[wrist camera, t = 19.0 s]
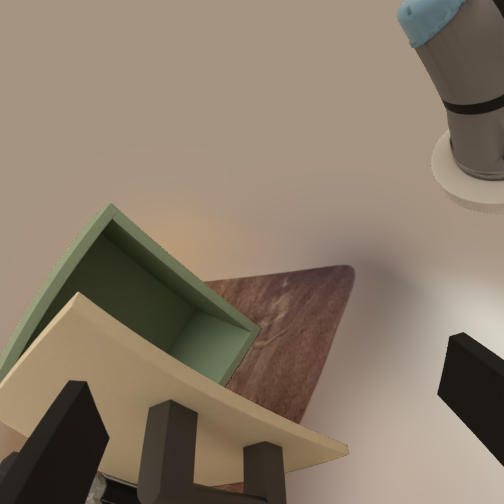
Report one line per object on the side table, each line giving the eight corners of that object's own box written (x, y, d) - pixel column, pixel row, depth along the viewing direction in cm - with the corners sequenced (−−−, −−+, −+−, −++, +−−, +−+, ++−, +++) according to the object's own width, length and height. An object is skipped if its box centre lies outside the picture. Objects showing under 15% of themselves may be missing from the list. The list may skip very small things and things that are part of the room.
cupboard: (261, 328, 42) (110, 202, 30) (157, 484, 33) (-16, 402, 22) (201, 305, 56) (92, 215, 45) (123, 423, 48) (3, 351, 36)
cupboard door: (359, 516, 17) (16, 441, 6) (155, 529, 27) (-33, 456, 16) (347, 444, 23) (78, 290, 12) (159, 484, 32) (-14, 402, 21)
